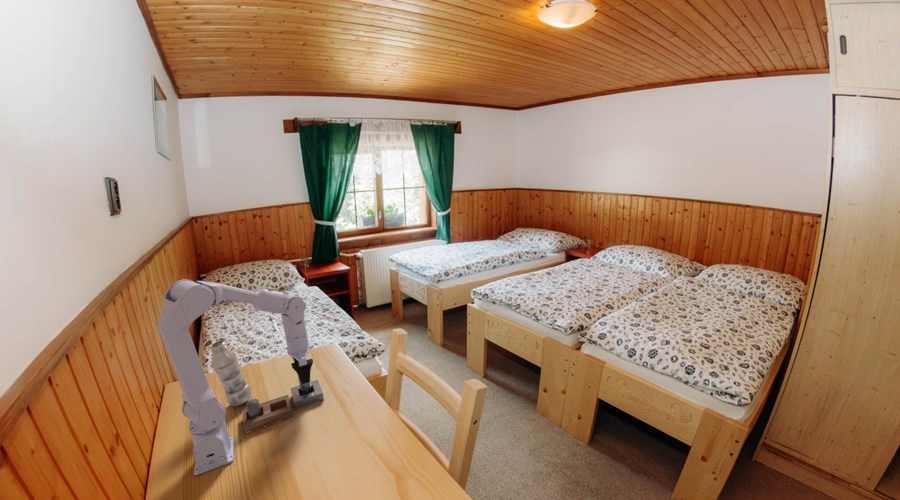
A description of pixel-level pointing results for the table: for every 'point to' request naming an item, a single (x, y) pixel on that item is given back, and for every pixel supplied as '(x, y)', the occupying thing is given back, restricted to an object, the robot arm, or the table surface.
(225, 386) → the plastic bottle
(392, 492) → the table surface
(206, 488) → the table surface
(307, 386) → the shiny steel cylinder
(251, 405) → the rack
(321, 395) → the socket block
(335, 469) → the table surface
